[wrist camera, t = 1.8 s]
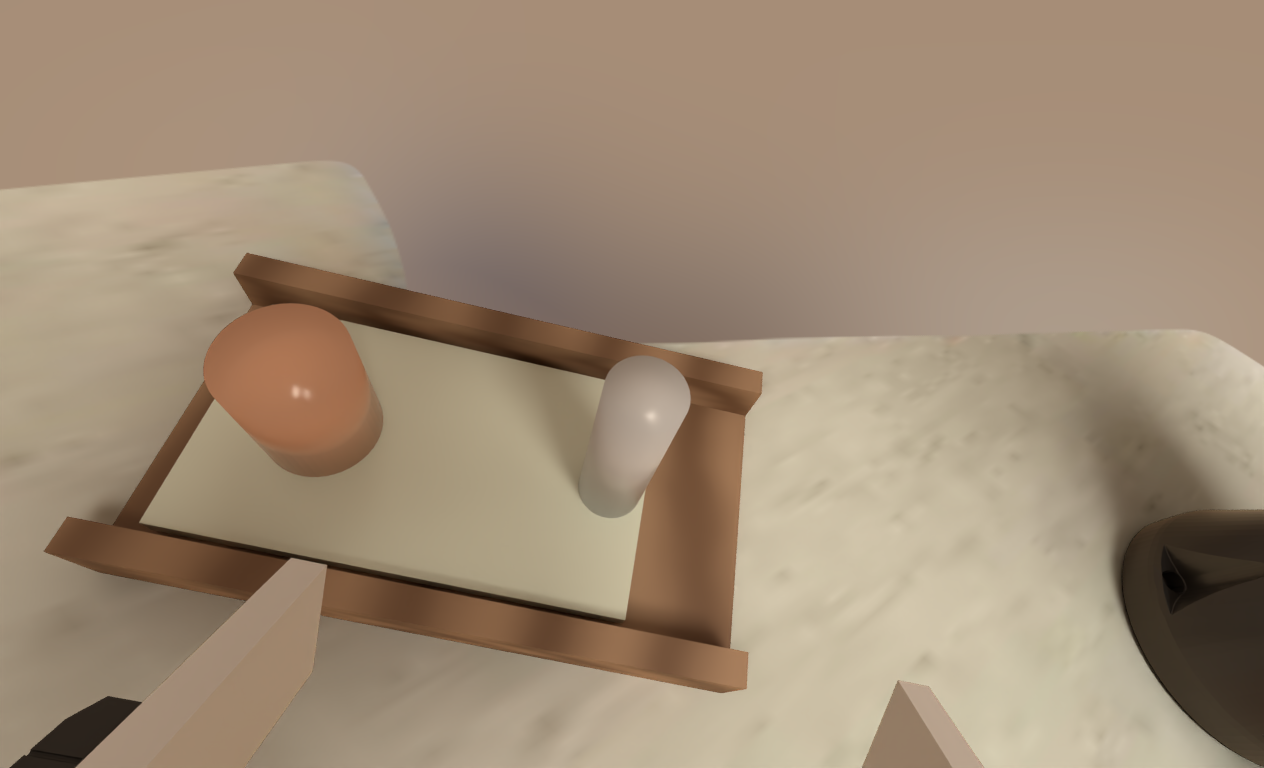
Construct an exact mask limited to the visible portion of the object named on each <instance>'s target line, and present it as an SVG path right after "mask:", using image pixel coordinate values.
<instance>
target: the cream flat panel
mask: <svg viewBox="0 0 1264 768" xmlns="http://www.w3.org/2000/svg"><path fill="white" fill-rule="evenodd" d="M340 321H341V322H342V323H343V325H344V326H345V327H346V329H347V330H348V332H349V334H350V336H351V338H352V341H353V343H354V345H355V347H356V350H357V352H358V354H359V357H360V359H361V361H362V363H363V366H364V368H365V370H366V372H367V375H368V377H369V379H370V382H371V384H372V386H373V388H374V391H375V393H376V395H377V398H378V400H379V402H380V404H381V407H382V411H383V428H382V432H381V435H380V437H379V439H378V441H377V443H376V445H375V446H374V448H373V449H372V450H371V451H370V453H369V454H368V455H367V456H366V457H365V458H364V459H362V460H361V461H360V462H358V463H357V464H356V465H354V466H352V467H351V468H349V469H347V470H344V471H342V472H339V473H336V474H333V475H329V476H322V477H306V476H300V475H296V474H293V473H290V472H288V471H286V470H284V469H283V468H281V467H280V466H278V465H277V464H276V463H275V462H274V461H273V460H272V459H271V458H270V457H269V456H268V455H267V454H266V452H265V451H264V450H263V449H262V448H261V447H260V446H259V445H258V444H257V443H256V442H255V441H254V440H253V439H252V438H251V437H250V436H249V435H248V433H247V432H246V431H245V430H244V429H243V428H242V427H241V426H240V425H239V424H238V423H237V422H236V421H235V420H234V419H233V418H232V417H231V416H230V414H229V413H228V412H227V411H226V410H225V409H224V408H223V407H222V406H221V405H220V404H219V403H218V402H217V401H216V400H215V399H214V401H213V402H212V404H211V405H210V407H209V409H208V410H207V412H206V414H205V415H204V417H203V418H202V420H201V422H200V423H199V425H198V427H197V428H196V430H195V432H194V433H193V435H192V436H191V438H190V440H189V441H188V443H187V445H186V446H185V448H184V450H183V451H182V453H181V454H180V456H179V458H178V459H177V461H176V463H175V464H174V466H173V468H172V469H171V471H170V472H169V474H168V476H167V477H166V479H165V481H164V482H163V484H162V486H161V487H160V489H159V490H158V492H157V494H156V495H155V497H154V499H153V500H152V502H151V504H150V505H149V507H148V508H147V510H146V512H145V513H144V515H143V517H142V518H141V520H140V522H139V523H140V524H142V525H144V526H146V527H148V528H149V529H151V530H155V531H160V532H165V533H170V534H175V535H180V536H185V537H190V538H195V539H200V540H205V541H210V542H215V543H220V544H225V545H230V546H235V547H240V548H245V549H250V550H255V551H260V552H265V553H270V554H275V555H280V556H285V557H290V558H295V559H300V560H305V561H310V562H315V563H320V564H325V565H330V566H335V567H340V568H345V569H350V570H355V571H360V572H365V573H370V574H375V575H380V576H385V577H390V578H395V579H400V580H405V581H410V582H415V583H420V584H425V585H430V586H435V587H440V588H445V589H450V590H455V591H460V592H465V593H470V594H475V595H480V596H485V597H490V598H495V599H500V600H505V601H510V602H515V603H520V604H525V605H530V606H535V607H540V608H545V609H550V610H555V611H560V612H565V613H570V614H575V615H580V616H585V617H590V618H595V619H600V620H605V621H610V622H615V623H620V624H622V623H623V622H624V621H625V619H626V612H627V606H628V599H629V593H630V586H631V580H632V573H633V567H634V561H635V554H636V548H637V541H638V535H639V528H640V522H641V515H642V509H643V503H644V496H645V490H646V488H647V486H648V484H649V482H650V480H651V478H652V477H653V475H654V473H655V471H656V469H657V467H658V466H659V464H660V462H661V460H662V458H663V456H664V455H665V453H666V451H667V449H668V447H669V446H670V444H671V442H672V440H673V438H674V436H675V435H676V433H677V431H678V429H679V427H680V425H681V424H682V422H683V420H684V418H685V416H686V414H687V413H688V410H689V407H690V401H691V396H690V390H689V387H688V384H687V382H686V380H685V378H684V377H683V375H682V374H681V373H680V372H679V371H678V370H677V369H676V368H675V367H674V366H673V365H671V364H670V363H668V362H666V361H664V360H662V359H659V358H656V357H652V356H643V355H642V356H633V357H629V358H626V359H624V360H622V361H620V362H618V363H617V364H616V365H615V366H613V368H612V369H611V370H610V371H609V373H608V374H607V376H606V379H605V380H603V379H599V378H594V377H590V376H586V375H581V374H577V373H572V372H568V371H564V370H559V369H555V368H550V367H546V366H541V365H537V364H533V363H528V362H524V361H519V360H515V359H511V358H506V357H502V356H497V355H493V354H489V353H484V352H480V351H475V350H471V349H466V348H462V347H458V346H453V345H449V344H444V343H440V342H436V341H431V340H427V339H422V338H418V337H413V336H409V335H405V334H400V333H396V332H391V331H387V330H383V329H378V328H374V327H369V326H365V325H361V324H356V323H352V322H347V321H343V320H340Z"/></svg>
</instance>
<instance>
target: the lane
mask: <svg viewBox="0 0 1264 768" xmlns="http://www.w3.org/2000/svg"><path fill="white" fill-rule="evenodd" d="M233 273H234V275H235V277H236V278H237V280H238V281H239V283H240V285H241V286H242V288H243V290H244V291H245V293H246V294H247V296H248V298H249V299H250V301H251V302H252V304H253V305H252V306H251V308H250V309H249V311H248V313H249V312H251V311H253V310H256V309H259V308H262V307H266V306H270V305H276V304H286V303H296V304H305V305H310V306H314V307H318V308H320V309H323V310H325V311H327V312H329V313H331V314H332V315H334V316H335V317H336V318H338V319H339V320H343V321H347V322H352V323H356V324H361V325H365V326H369V327H374V328H378V329H383V330H387V331H391V332H396V333H400V334H405V335H409V336H413V337H418V338H422V339H427V340H431V341H436V342H440V343H444V344H449V345H453V346H458V347H462V348H466V349H471V350H475V351H480V352H484V353H489V354H493V355H497V356H502V357H506V358H511V359H515V360H519V361H524V362H528V363H533V364H537V365H541V366H546V367H550V368H555V369H559V370H564V371H568V372H572V373H577V374H581V375H586V376H590V377H594V378H599V379H603V380H605V379H606V376H607V374H608V373H609V371H610V370H611V369H612V368H613V366H615V365H616V364H617V363H618V362H620V361H622V360H624V359H626V358H629V357H633V356H642V355H643V356H652V357H656V358H659V359H662V360H664V361H666V362H668V363H670V364H671V365H673V366H674V367H675V368H676V369H677V370H678V371H679V372H680V373H681V374H682V375H683V377H684V378H685V380H686V382H687V384H688V387H689V390H690V396H691V401H690V407H689V410H688V413H687V414H686V416H685V418H684V420H683V422H682V424H681V425H680V427H679V429H678V431H677V433H676V435H675V436H674V438H673V440H672V442H671V444H670V446H669V447H668V449H667V451H666V453H665V455H664V456H663V458H662V460H661V462H660V464H659V466H658V467H657V469H656V471H655V473H654V475H653V477H652V478H651V480H650V482H649V484H648V486H647V488H646V490H645V496H644V503H643V509H642V515H641V522H640V528H639V535H638V541H637V548H636V554H635V561H634V567H633V573H632V580H631V586H630V593H629V599H628V606H627V612H626V619H625V621H624V622H623V623H622V624H620V623H615V622H610V621H605V620H600V619H595V618H590V617H585V616H580V615H575V614H570V613H565V612H560V611H555V610H550V609H545V608H540V607H535V606H530V605H525V604H520V603H515V602H510V601H505V600H500V599H495V598H490V597H485V596H480V595H475V594H470V593H465V592H460V591H455V590H450V589H445V588H440V587H435V586H430V585H425V584H420V583H415V582H410V581H405V580H400V579H395V578H390V577H385V576H380V575H375V574H370V573H365V572H360V571H355V570H350V569H345V568H340V567H335V566H330V565H327V570H326V577H325V585H324V592H323V599H322V607H321V614H320V615H322V616H327V617H332V618H337V619H343V620H348V621H353V622H358V623H363V624H368V625H373V626H379V627H384V628H389V629H394V630H399V631H404V632H409V633H415V634H420V635H425V636H430V637H435V638H440V639H445V640H451V641H456V642H461V643H466V644H471V645H476V646H482V647H487V648H492V649H497V650H502V651H507V652H512V653H518V654H523V655H528V656H533V657H538V658H543V659H548V660H554V661H559V662H564V663H569V664H574V665H579V666H584V667H590V668H595V669H600V670H605V671H610V672H615V673H620V674H626V675H631V676H636V677H641V678H646V679H651V680H656V681H662V682H667V683H672V684H677V685H682V686H687V687H692V688H698V689H703V690H708V691H713V692H718V693H725V692H731V691H737V690H743V689H747V669H748V652H744V651H739V650H734V649H730V641H731V626H732V610H733V595H734V580H735V565H736V550H737V535H738V519H739V504H740V489H741V474H742V459H743V444H744V428H745V416H746V414H747V413H748V411H749V410H750V409H751V407H752V406H753V405H754V403H755V402H756V401H757V399H758V398H759V397H760V395H761V394H762V374H763V372H759V371H755V370H750V369H746V368H742V367H738V366H733V365H729V364H725V363H720V362H716V361H712V360H707V359H703V358H699V357H694V356H690V355H686V354H681V353H677V352H673V351H668V350H664V349H660V348H655V347H651V346H647V345H642V344H638V343H634V342H630V341H625V340H621V339H617V338H612V337H608V336H604V335H599V334H595V333H591V332H586V331H582V330H578V329H573V328H569V327H565V326H560V325H556V324H552V323H547V322H543V321H539V320H534V319H530V318H526V317H521V316H517V315H512V314H508V313H504V312H500V311H495V310H491V309H487V308H483V307H478V306H474V305H469V304H465V303H461V302H457V301H452V300H448V299H444V298H439V297H435V296H431V295H426V294H422V293H418V292H413V291H409V290H405V289H401V288H396V287H392V286H388V285H383V284H379V283H375V282H370V281H366V280H362V279H357V278H353V277H349V276H344V275H340V274H336V273H331V272H327V271H323V270H318V269H314V268H310V267H305V266H301V265H297V264H292V263H288V262H284V261H280V260H275V259H271V258H267V257H262V256H258V255H254V254H249V253H246V255H245V256H244V258H243V259H242V261H241V262H240V264H239V265H238V267H237V268H236V270H235V271H234V272H233ZM213 401H214V397H213V396H212V395H211V393H210V392H209V390H208V388H207V386H206V383H205V380H204V382H203V384H202V385H201V387H200V388H199V390H198V391H197V393H196V395H195V396H194V398H193V399H192V401H191V403H190V404H189V406H188V407H187V409H186V410H185V412H184V414H183V415H182V417H181V418H180V420H179V421H178V423H177V425H176V426H175V428H174V429H173V431H172V433H171V434H170V436H169V437H168V439H167V440H166V442H165V444H164V445H163V447H162V448H161V450H160V451H159V453H158V455H157V456H156V458H155V459H154V461H153V463H152V464H151V466H150V467H149V469H148V470H147V472H146V474H145V475H144V477H143V478H142V480H141V481H140V483H139V485H138V486H137V488H136V489H135V491H134V492H133V494H132V496H131V497H130V499H129V500H128V502H127V504H126V505H125V507H124V508H123V510H122V511H121V513H120V515H119V516H118V518H117V519H116V521H115V522H114V524H113V526H112V525H107V524H102V523H97V522H92V521H87V520H82V519H77V518H72V517H67V518H66V520H65V521H64V522H63V524H62V525H61V527H60V528H59V530H58V531H57V533H56V534H55V536H54V537H53V539H52V540H51V542H50V543H49V545H48V546H47V547H46V549H45V550H44V552H46V553H49V554H51V555H54V556H57V557H59V558H62V559H65V560H68V561H70V562H73V563H76V564H78V565H81V566H84V567H86V568H89V569H92V570H94V571H97V572H101V573H106V574H111V575H116V576H121V577H126V578H132V579H137V580H142V581H147V582H152V583H157V584H162V585H168V586H173V587H178V588H183V589H188V590H193V591H198V592H204V593H209V594H214V595H219V596H224V597H229V598H235V599H240V600H245V601H247V600H248V599H249V598H250V597H251V596H252V595H253V594H254V593H255V592H256V591H257V590H259V589H260V588H261V587H262V586H263V585H264V584H265V583H266V582H267V581H268V580H269V579H270V578H271V577H272V576H273V575H274V574H275V573H276V572H277V571H278V570H279V569H280V568H281V567H282V566H283V565H284V564H285V563H286V562H287V561H288V560H289V559H290V557H285V556H280V555H275V554H270V553H265V552H260V551H255V550H250V549H245V548H240V547H235V546H230V545H225V544H220V543H215V542H210V541H205V540H200V539H195V538H190V537H185V536H180V535H175V534H170V533H165V532H160V531H155V530H151V529H149V528H148V527H146V526H144V525H142V524H140V523H139V522H140V520H141V518H142V517H143V515H144V513H145V512H146V510H147V508H148V507H149V505H150V504H151V502H152V500H153V499H154V497H155V495H156V494H157V492H158V490H159V489H160V487H161V486H162V484H163V482H164V481H165V479H166V477H167V476H168V474H169V472H170V471H171V469H172V468H173V466H174V464H175V463H176V461H177V459H178V458H179V456H180V454H181V453H182V451H183V450H184V448H185V446H186V445H187V443H188V441H189V440H190V438H191V436H192V435H193V433H194V432H195V430H196V428H197V427H198V425H199V423H200V422H201V420H202V418H203V417H204V415H205V414H206V412H207V410H208V409H209V407H210V405H211V404H212V402H213Z"/></svg>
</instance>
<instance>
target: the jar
mask: <svg viewBox="0 0 1264 768" xmlns="http://www.w3.org/2000/svg"><path fill="white" fill-rule="evenodd" d="M203 368H204V379H205V383H206V386H207V388H208V390H209V392H210V393H211V395H212V396H213V397H214V399H215V400H216V401H217V402H218V403H219V404H220V405H221V406H222V407H223V408H224V409H225V410H226V411H227V412H228V413H229V414H230V416H231V417H232V418H233V419H234V420H235V421H236V422H237V423H238V424H239V425H240V426H241V427H242V428H243V429H244V430H245V431H246V432H247V433H248V435H249V436H250V437H251V438H252V439H253V440H254V441H255V442H256V443H257V444H258V445H259V446H260V447H261V448H262V449H263V450H264V451H265V452H266V454H267V455H268V456H269V457H270V458H271V459H272V460H273V461H274V462H275V463H276V464H277V465H278V466H280V467H281V468H283V469H284V470H286V471H288V472H290V473H293V474H296V475H300V476H306V477H322V476H329V475H333V474H336V473H339V472H342V471H344V470H347V469H349V468H351V467H352V466H354V465H356V464H357V463H358V462H360V461H361V460H362V459H364V458H365V457H366V456H367V455H368V454H369V453H370V451H371V450H372V449H373V448H374V446H375V445H376V443H377V441H378V439H379V437H380V435H381V432H382V428H383V411H382V407H381V404H380V402H379V400H378V398H377V395H376V393H375V391H374V388H373V386H372V384H371V382H370V379H369V377H368V375H367V372H366V370H365V368H364V366H363V363H362V361H361V359H360V357H359V354H358V352H357V350H356V347H355V345H354V343H353V341H352V338H351V336H350V334H349V332H348V330H347V329H346V327H345V326H344V325H343V323H342V322H341V321H340V320H339V319H338V318H336V317H335V316H334V315H332V314H331V313H329V312H327V311H325V310H323V309H320V308H318V307H314V306H310V305H305V304H296V303H286V304H276V305H270V306H266V307H262V308H259V309H256V310H253V311H251V312H249V313H247V314H244V315H243V316H241V317H239V318H237V319H236V320H234V321H233V322H232V323H230V324H229V325H228V326H227V327H225V328H224V329H223V330H222V331H221V332H220V333H219V334H218V336H217V337H216V338H215V339H214V341H213V342H212V344H211V345H210V347H209V349H208V351H207V354H206V357H205V361H204V367H203Z"/></svg>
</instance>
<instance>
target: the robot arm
mask: <svg viewBox="0 0 1264 768" xmlns="http://www.w3.org/2000/svg"><path fill="white" fill-rule="evenodd" d="M326 570H327V565H325V564H320V563H315V562H310V561H305V560H300V559H295V558H290V559H289V560H288V561H287V562H286V563H285V564H284V565H283V566H282V567H281V568H280V569H279V570H278V571H277V572H276V573H275V574H274V575H273V576H272V577H271V578H270V579H269V580H268V581H267V582H266V583H265V584H264V585H263V586H262V587H261V588H260V589H259V590H257V591H256V592H255V593H254V594H253V595H252V596H251V597H250V598H249V599H248V600H247V601H246V602H245V603H244V604H243V605H242V606H241V607H240V608H239V609H238V610H237V611H236V612H235V613H234V614H233V615H232V616H231V617H230V618H229V619H228V620H227V621H226V622H225V623H224V624H223V625H222V626H220V627H219V628H218V629H217V630H216V631H215V632H214V633H213V634H212V635H211V636H210V637H209V638H208V639H207V640H206V641H205V642H204V643H203V644H202V645H201V646H200V647H199V648H198V649H197V650H196V651H195V652H194V653H193V654H192V655H191V656H190V657H189V658H188V659H187V660H186V661H184V662H183V663H182V664H181V665H180V666H179V667H178V668H177V669H176V670H175V671H174V672H173V673H172V674H171V675H170V676H169V677H168V678H167V679H166V680H165V681H164V682H163V683H162V684H161V685H160V686H159V687H158V688H157V689H156V690H155V691H154V692H153V693H152V694H151V695H150V696H148V697H147V698H146V699H145V700H144V701H143V702H137V701H132V700H126V699H121V698H115V697H110V696H108V697H106V698H104V699H102V700H100V701H98V702H96V703H95V704H93V705H91V706H89V707H87V708H85V709H83V710H82V711H80V712H78V713H76V714H74V715H72V716H70V717H69V718H67V719H65V720H64V721H63V722H62V723H61V724H59V725H58V726H57V727H56V728H55V729H54V730H53V731H51V732H50V733H49V734H48V735H47V736H46V737H45V738H43V739H42V740H41V741H40V742H39V743H38V744H36V745H35V746H34V747H33V748H32V749H31V751H30V753H29V754H28V755H27V756H25V755H24V756H23V757H21V758H20V759H19V760H18V761H17V762H16V763H15V764H13V765H12V766H11V767H10V768H244V767H245V766H246V765H247V763H248V762H249V760H250V759H251V758H252V756H253V755H254V753H255V752H256V750H257V749H258V748H259V746H260V745H261V743H262V742H263V741H264V739H265V738H266V736H267V735H268V734H269V732H270V731H271V729H272V728H273V727H274V725H275V724H276V722H277V721H278V720H279V718H280V717H281V715H282V714H283V712H284V711H285V710H286V708H287V707H288V705H289V704H290V703H291V701H292V700H293V698H294V697H295V696H296V694H297V693H298V691H299V690H300V689H301V687H302V686H303V684H304V683H305V681H306V680H307V679H308V677H309V676H310V674H311V673H312V672H313V666H314V659H315V651H316V644H317V636H318V629H319V622H320V614H321V607H322V599H323V592H324V585H325V577H326ZM1123 592H1124V598H1125V604H1126V608H1127V612H1128V615H1129V618H1130V622H1131V625H1132V627H1133V630H1134V632H1135V635H1136V637H1137V639H1138V642H1139V644H1140V646H1141V648H1142V650H1143V652H1144V654H1145V656H1146V657H1147V659H1148V661H1149V663H1150V664H1151V666H1152V668H1153V669H1154V671H1155V672H1156V674H1157V675H1158V677H1159V678H1160V680H1161V681H1162V683H1163V684H1164V685H1165V687H1166V688H1167V689H1168V691H1169V692H1170V693H1171V695H1172V696H1173V697H1174V698H1175V700H1176V701H1177V702H1178V703H1179V704H1180V705H1181V706H1182V708H1183V709H1184V710H1185V711H1186V712H1187V713H1188V714H1189V715H1190V716H1191V717H1192V718H1193V719H1194V720H1195V721H1196V722H1197V723H1198V724H1199V725H1200V726H1201V727H1202V728H1204V729H1205V730H1206V731H1207V732H1208V733H1209V734H1211V735H1212V736H1213V737H1214V738H1216V739H1217V740H1218V741H1219V742H1221V743H1222V744H1224V745H1225V746H1226V747H1228V748H1229V749H1231V750H1232V751H1234V752H1236V753H1237V754H1239V755H1241V756H1242V757H1244V758H1246V759H1248V760H1250V761H1252V762H1254V763H1256V764H1258V765H1261V766H1263V767H1264V510H1198V511H1191V512H1186V513H1182V514H1179V515H1176V516H1173V517H1170V518H1167V519H1163V520H1160V521H1157V522H1154V523H1152V524H1150V525H1148V526H1146V527H1145V528H1143V529H1142V530H1141V531H1140V532H1139V533H1138V534H1137V535H1136V536H1135V537H1134V539H1133V540H1132V542H1131V543H1130V545H1129V547H1128V550H1127V552H1126V555H1125V559H1124V564H1123ZM862 768H984V767H983V765H982V764H981V762H980V761H979V759H978V758H977V756H976V755H975V753H974V752H973V750H972V749H971V748H970V746H969V745H968V743H967V742H966V740H965V739H964V737H963V736H962V734H961V733H960V731H959V730H958V728H957V727H956V726H955V724H954V723H953V721H952V720H951V718H950V717H949V715H948V714H947V712H946V711H945V709H944V708H943V706H942V705H941V704H940V702H939V701H938V699H937V698H936V696H935V695H934V693H933V692H932V690H931V689H930V687H929V686H924V685H919V684H914V683H909V682H904V681H899V680H898V681H897V684H896V686H895V689H894V691H893V694H892V696H891V698H890V701H889V703H888V706H887V708H886V711H885V713H884V715H883V718H882V720H881V723H880V725H879V728H878V730H877V732H876V735H875V737H874V740H873V742H872V745H871V747H870V749H869V752H868V754H867V757H866V759H865V762H864V764H863V766H862Z"/></svg>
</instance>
